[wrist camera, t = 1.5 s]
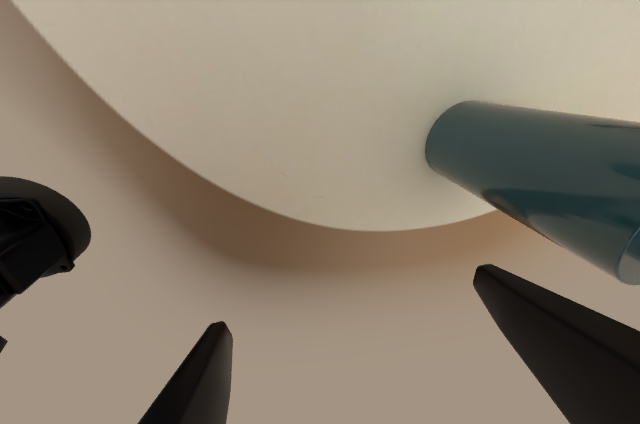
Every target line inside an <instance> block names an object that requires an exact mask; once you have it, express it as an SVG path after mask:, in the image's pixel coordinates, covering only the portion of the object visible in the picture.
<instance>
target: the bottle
mask: <svg viewBox="0 0 640 424" xmlns="http://www.w3.org/2000/svg"><path fill="white" fill-rule="evenodd" d="M426 159H427V162H428V164H429V166H430V167H431V168H432V169H433V170H434V171H435V172H436V173H438V174H440V175H441V176H443V177H445V178H447V179H448V180H450V181H452V182H453V183H455V184H457V185H458V186H460V187H462V188H463V189H465V190H467V191H468V192H470V193H472V194H473V195H475V196H477V197H478V198H480V199H482V200H484V201H485V202H487V203H489V204H490V205H492V206H494V207H495V208H497V209H499V210H500V211H502V212H504V213H505V214H507V215H509V216H510V217H512V218H514V219H515V220H517V221H519V222H521V223H522V224H524V225H526V226H527V227H529V228H531V229H533V230H534V231H536V232H538V233H539V234H541V235H543V236H544V237H546V238H547V239H549V240H551V241H552V242H554V243H556V244H558V245H559V246H561V247H563V248H564V249H566V250H568V251H569V252H571V253H573V254H574V255H576V256H578V257H579V258H581V259H583V260H584V261H586V262H588V263H589V264H591V265H593V266H595V267H596V268H598V269H600V270H601V271H603V272H605V273H606V274H608V275H610V276H612V277H613V278H615V279H616V280H618V281H620V282H621V283H624V284H628V285H640V122H633V121H626V120H618V119H610V118H603V117H595V116H587V115H579V114H572V113H564V112H556V111H549V110H541V109H533V108H526V107H518V106H510V105H502V104H495V103H487V102H479V101H466V102H462V103H459V104H457V105H455V106H453V107H451V108H450V109H448V110H447V111H446V112H445V113H444V114H442V115H441V116H440V118H439V119H438V120H437V121H436V123H435V124H434V125H433V127H432V129H431V131H430V133H429V135H428V138H427V142H426Z"/></svg>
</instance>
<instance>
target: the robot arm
mask: <svg viewBox="0 0 640 424" xmlns="http://www.w3.org/2000/svg"><path fill="white" fill-rule="evenodd" d="M27 203H28V204H30V205H31V206H29V205H28V204H27ZM74 267H75V264H74V262H73V260H72V258H71V257H70V255H69V253H68V251H67V249H66V248H65V246H64V244H63V242H62V241H61V239H60V237H59V235H58V234H57V232H56V230H55V228H54V227H53V225H52V223H51V221H50V220H49V218H48V216H47V214H46V213H45V211H44V209H43V207H42V205H41V204H40V202H39V201H37V200H36V199H34V198H30V197H16V198H0V308H2V307H3V306H4V305H5V304H6V303H7V302H9V301H10V300H11V299H12V298H13V297H14V296H16V295H17V294H21V293H23V292H24V291H25V290H26V289H28V288H29V287H30V286H31V285H32V284H33V283H34V282H36V281H37V280H38V279H39V278H40V277H41V276H42V275H44V274H47V273H63V272H69V271H71V270H72V269H73V268H74ZM473 285H474V288H475V290H476V291H477V293H478V295H479V296H480V298H481V300H482V301H483V303H484V304H485V306H486V308H487V309H488V311H489V313H490V314H491V316H492V318H493V319H494V321H495V322H496V324H497V325H498V327H499V329H500V330H501V331H502V333H503V334H504V336H505V337H506V338H507V340H508V341H509V342H510V344H511V345H512V346H513V348H514V349H515V350H516V352H517V353H518V354H519V356H520V357H521V358H522V360H523V361H524V362H525V364H526V365H527V366H528V368H529V369H530V370H531V372H532V373H533V374H534V376H535V377H536V378H537V379H538V381H539V382H540V384H541V385H542V386H543V388H544V389H545V390H546V392H547V393H548V394H549V396H550V397H551V399H552V400H553V401H554V403H555V404H556V405H557V407H558V408H559V409H560V411H561V412H562V413H563V415H564V416H565V417H566V419H567V420H568V421H569V423H570V424H640V331H638V330H636V329H634V328H631V327H629V326H627V325H625V324H622V323H620V322H618V321H616V320H614V319H611V318H609V317H607V316H605V315H603V314H600V313H598V312H596V311H594V310H591V309H589V308H587V307H585V306H583V305H580V304H578V303H576V302H574V301H572V300H569V299H567V298H565V297H563V296H560V295H558V294H556V293H554V292H552V291H549V290H547V289H545V288H543V287H541V286H538V285H536V284H534V283H532V282H529V281H527V280H525V279H523V278H521V277H519V276H516V275H514V274H512V273H510V272H508V271H505V270H503V269H501V268H499V267H496V266H494V265H491V264H485V265H481V266H478V267H477V269H476V273H475V276H474V280H473ZM6 343H7V340H6V339H4V338H2V337H1V336H0V353H1V351H2V350H3V348H4V346H5V345H6ZM232 347H233V338H232V334H231V333H230V331H229V329H228V327H227V325H226V324H225V323H224V322H223V321H220V322H216V323H212V324H211V325H210V326H209V327H208V328H207V329H206V331H205V332H204V334H203V335H202V336H201V338H200V339H199V340H198V342H197V343H196V344H195V346H194V347H193V349H192V350H191V351H190V353H189V354H188V355H187V357H186V358H185V360H184V361H183V362H182V364H181V365H180V366H179V368H178V369H177V371H176V372H175V373H174V375H173V376H172V377H171V379H170V380H169V381H168V383H167V384H166V386H165V387H164V388H163V390H162V391H161V393H160V394H159V395H158V397H157V398H156V399H155V401H154V402H153V403H152V405H151V406H150V407H149V409H148V410H147V412H146V413H145V414H144V416H143V417H142V418H141V420H140V421H139V423H138V424H226V419H227V412H228V405H229V398H230V390H231V371H232V349H233V348H232Z"/></svg>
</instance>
